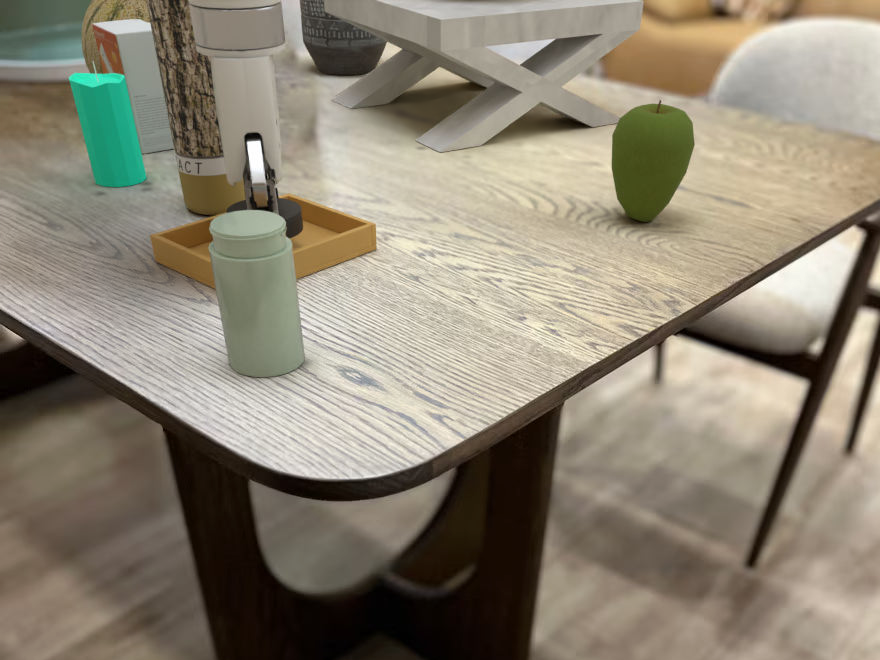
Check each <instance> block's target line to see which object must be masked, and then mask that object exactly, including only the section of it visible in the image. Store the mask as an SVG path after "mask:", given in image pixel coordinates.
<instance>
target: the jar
mask: <svg viewBox="0 0 880 660" xmlns="http://www.w3.org/2000/svg"><path fill="white" fill-rule="evenodd" d="M286 230H287V227H286V222H285V220H284V218H282V217H281V216H280V215H278V214H276V213H272V212H268V211H261V210H242V211H234V212H229V213H226V214H223V215H220V216H218V217H216V218H214V219H213V220H212V221H211V224H210V228H209V231H210V234H212V238H213V241H212V242H211V243H210V245H209V254H210V259H211V265H212V271H213V276H214V282H215V287H216V289H215V292H216V299H217V303H218V310H219V314H220V319H221V320H220V321H221V326H222V331H223V338H224V343H225V349H226V354H227V355H226V356H227V361H228V365H229V367H230V368H231V369H232V371H234V372H236V373H238V374H240V375H243V376H247V377H252V378H273V377H278V376H283V375H286V374H288V373H291V372H293V371H295V370H297V369H299V368H300V367H301V366H302V365H303V363H304V362H305V358H306V355H305V346H304V338H303V329H302V319H301V311H300V301H299V293H298V283H297V279H296V273H295V264H294V255H293V246H292V242H291V240H290V239H289V238H288V237H286Z"/></svg>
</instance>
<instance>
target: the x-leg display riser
mask: <svg viewBox="0 0 880 660" xmlns="http://www.w3.org/2000/svg"><path fill="white" fill-rule="evenodd" d="M644 4H645V1H644V0H324V8H325V12H327V13H329V14H331V15H333V16H335V17H337V18H339V19H341V20H343V21H345V22H347V23H349V24H351V25H354V26H356V27H358V28H360V29H362V30H364V31H366V32H368V33H370V34H372V35H374V36H376V37H378V38H381V39H383V40H385V41H387V43H389V44H391V45H393V46H394V47H395V46H396V47H397V48H399V49H400V50H399V51H398V52H396V53H395V54H394V55H392V56H391V57H389V58H387V59H386V60H385V61H383V62H382V63H380V64H379V65H377V66H376V68H375V69H374V70H372V71H371V72H369V73H366V74H364V76H363V77H361V78H359V79H358V80H357V81H355V82H354V83H352V84H351V85H349V86H348V87H347V88H345V89H343V90H342V91H341V92H340V93H338V94H337V95H335V96H334V97H332V98H331V99H330V100H331V101H333V102H335V103H337V104H339V105H341V106H343V107H346V108H347V109H350V110H352V109H359V108H365V107H366V108H367V107H374V106H380V105H388V104H390V103H391V102H393V101H394V100H395V99H397V98H398V97H400V96H401V95H403V94H404V93H405V92H406V91H407V90H410V89H411V88H412V87H414V86H415V85H416V84H418V83H419V82H420V81H422V80H423V79H425V78H426V77H427V76H429V75H430V74H431V73H433V72H434V71H436V70H437V69H439V68H441V69H442V70H443V69H444V71H446V72H449V73H451V74H453V75H456V76H457V77H460V78H462V79H463V80H465V81H468V82H469V83H472V84H475V85H477V86H480V87H484V88H485V89H484V90H483V91H482V92H480V93H479V94H477V95H476V96H475V97H473V98H472V99H470V100H469V101H467V102H466V103H465V104H463V105H462V106H461V107H459V108H457V109H456V110H455V111H454V112H452V113H451V114H449V115H448V116H446V117H445V118H444V119H442V120H441V121H440V122H438V123H437V124H436V125H434V126H433V127H431V128H430V129H428V131H426V132H424V133H423V134H421V136H419V137H417V138H416V139H415V141H416V142H417V143H419V144H422V145H424V146H426V147H428V148H429V149H432V150H435V151H436V152H438V153H445V152H450V151H456V150H463V149H468V148H476V147H481V146H483V144H485V143H487V142H488V141H489V140H491V139H492V138H493V137H495V136H496V135H497V134H500V132H502V131H503V130H504V129H506V128H507V127H509V125H511V124H512V123H514V122H515V121H517V120H518V119H520V118H522V116H524V115H525V114H526V113H528V112H529V111H530V110H532V109H533V108H535V107H536V106H537V105H540V106H542V107H544V108H546V109H548V110H550V111H552V112H554V113H556V114H559V115H560V116H562V117H564V118H567V119H570V120H573V121H576V122H578V123H581V124H583V125H586V126H589V127H591V128H596V127H601V126H602V127H603V126H607V125H608V126H609V125H614V124H615V125H616V124H618V121H619V119H620V118H621V117H619V116H618V115H616V114H614V113H612V112H610V111H608V110H606V109H604V108H602V107H600V106H599V105H596V104H594V103H593V102H590V101H588V100H587V99H585V98H583V97H581V96H579V95H577V94H576V93H574V92H572V91H570V90H568V89H566V88H564V87H563V86H564V85H565V86H566V84H567V83H569V82H570V81H572V80H573V79H574V78H576V77H578V75H580V74H581V73H582V72H584V71H585V70H586V69H588V68H590V67H591V66H593V65H594V64H595V63H597V62H598V61H599V60H600V59H602V58H603V57H604V56H606V55H607V54H609V53H610V52H612V51H613V50H614V49H616V48H617V47H618V46H620V45H621V44H622V43H624V42H625V41H626V40H628V39H629V38H631V36H633V35H635V34H636V33H637V32H639V31H640V30H641V26H642V25H641V24H642V19H643V10H644ZM547 40H551V42H549V43H548V44H546V45H545V46H544V47H542V48H541V49H540V50H538V51H537V52H536V53H534V54H533V55H531V56H530V57H528V58H527V59H526V60H524V61H523V62H521V63H520V64H518V63H517V62H514V61H513V60H511V59H509V58H507V57H505V56H503V55H501V54H499V53H498V52H496V51H494V50H492V49H490V48H488V47H491V46H492V47H493V46H503V45H512V44H520V43H521V44H522V43H530V42H539V41H547Z"/></svg>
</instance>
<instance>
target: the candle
mask: <svg viewBox="0 0 880 660" xmlns="http://www.w3.org/2000/svg"><path fill="white" fill-rule="evenodd" d="M92 62H93V66H94V70H95V73H90V72H74V73H72V74H71V75H70V76H69V77H68V82H69V84H70V88H71V92H72V96H73V101H74V104H75V108H76V112H77V116H78V120H79V123H80V128H81V132H82V135H83V139H84V140H83V141H84V143H85V147H86V151H87V155H88V159H89V162H90V163H89V164H90V167H91V172H92V175H93V178H94V182H95V184H96V185H99V186H102V187H107V188H109V187H110V188H121V187H122V188H123V187H132V186H135V185H139V184H141V183H143V182H144V181H145V180H147V178H148V177H147V172H146V168H145V163H144V159H143V154H141V149H140V145H139V140H138V135H137V131H136V126H135V121H134V117H133V112H132V108H131V103H130V98H129V94H128V89H127V84H126V80H125V76H124V75H122V74H117V73H109V74H97V73H96V69H95V64H94V61H92Z"/></svg>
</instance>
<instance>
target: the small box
mask: <svg viewBox="0 0 880 660" xmlns="http://www.w3.org/2000/svg"><path fill="white" fill-rule="evenodd" d="M92 27H93V31H94V35H95V39H96V43H97V48H98V52H99V56H100V61H101V65H102V70H103V74H109V73H117V74H122V75H124V76H125V80H126V84H127V89H128V94H129V98H130V103H131V108H132V112H133V117H134V121H135V126H136V131H137V135H138V140H139V145H140V149H141V154H142V155H146V154H152V153H157V152H161V151H163V152H164V151H168V150H174V146H173V140H172V135H171V130H170V124H169V119H168V114H167V108H166V103H165V98H164V93H163V87H162V82H161V77H160V71H159V66H158V61H157V56H156V50H155V45H154V40H153V34H152V29H151V24H150V23H148V22H145V21H143V20H140V19H129V20H117V21H108V22H100V23H93V24H92Z"/></svg>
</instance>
